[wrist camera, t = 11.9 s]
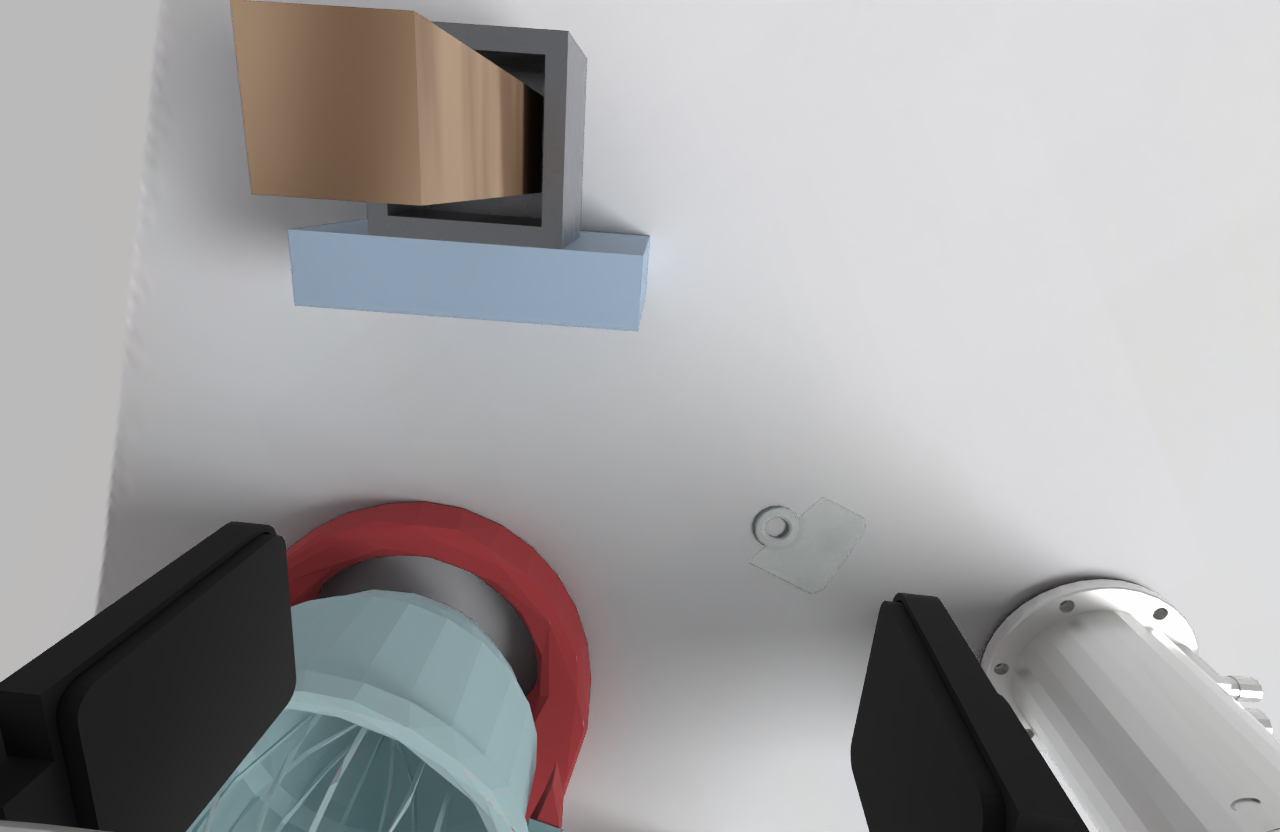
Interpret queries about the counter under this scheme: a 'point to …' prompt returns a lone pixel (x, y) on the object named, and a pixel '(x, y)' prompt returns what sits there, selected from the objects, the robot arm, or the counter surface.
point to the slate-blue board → (472, 277)
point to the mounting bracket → (807, 543)
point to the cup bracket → (555, 211)
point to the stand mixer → (415, 693)
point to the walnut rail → (378, 108)
